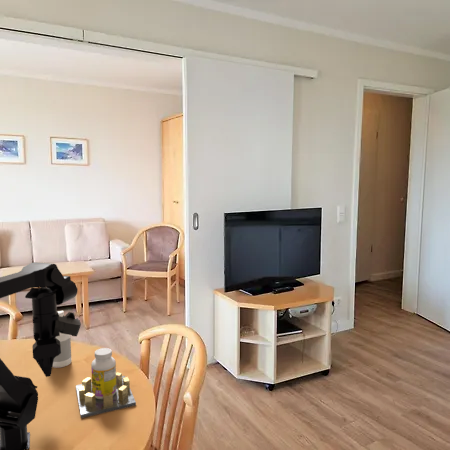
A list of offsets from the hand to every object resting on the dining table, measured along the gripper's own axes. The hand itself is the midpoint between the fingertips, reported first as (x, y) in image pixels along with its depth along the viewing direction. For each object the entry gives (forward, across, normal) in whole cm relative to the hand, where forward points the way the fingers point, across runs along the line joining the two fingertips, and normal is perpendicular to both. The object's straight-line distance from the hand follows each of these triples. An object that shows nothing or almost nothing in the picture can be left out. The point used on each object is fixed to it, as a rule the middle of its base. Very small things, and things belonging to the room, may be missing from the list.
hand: (47, 368), depth 107 cm
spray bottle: (+13, +30, -4) cm, 33 cm away
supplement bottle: (+12, +3, -14) cm, 19 cm away
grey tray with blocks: (+13, +3, -14) cm, 20 cm away
